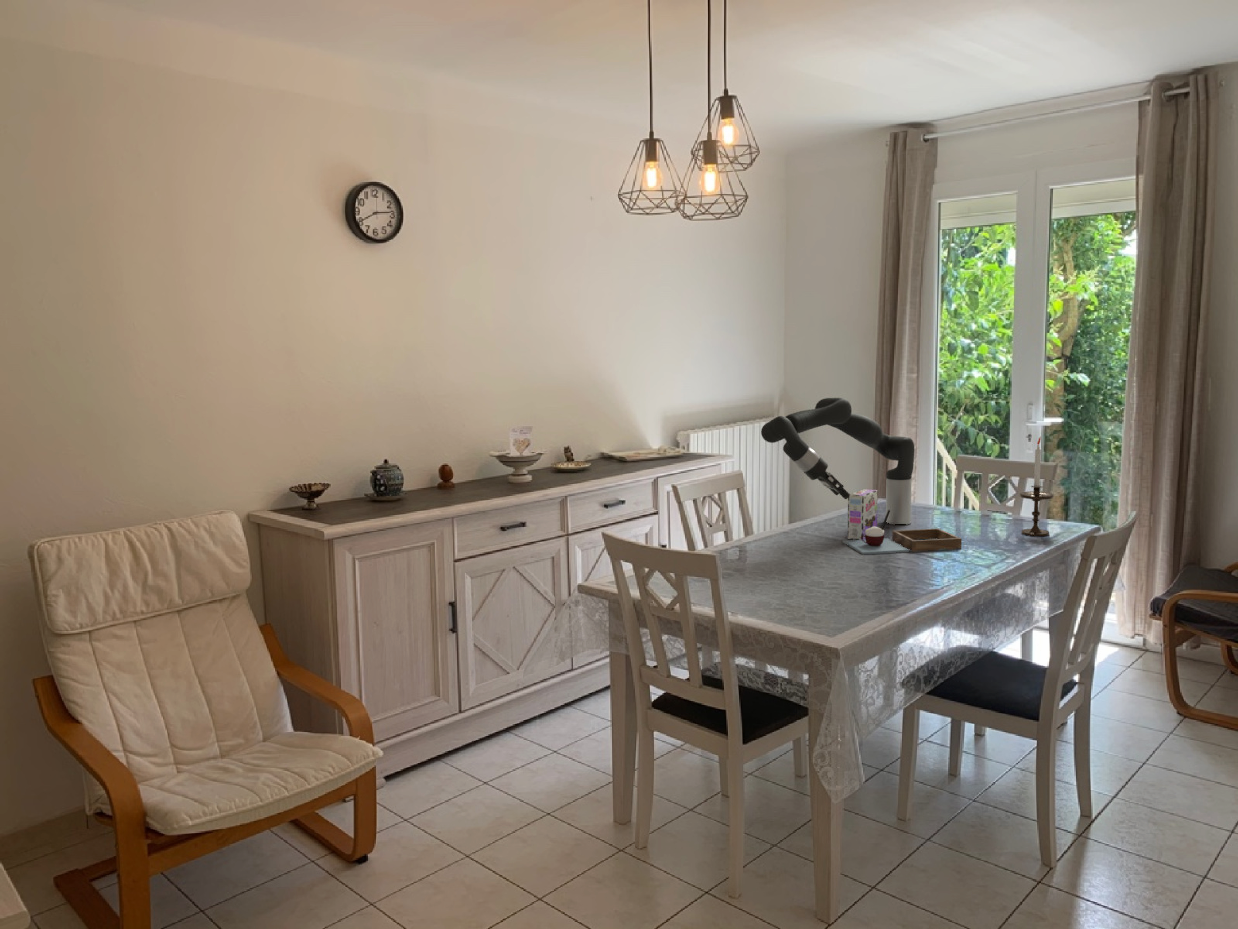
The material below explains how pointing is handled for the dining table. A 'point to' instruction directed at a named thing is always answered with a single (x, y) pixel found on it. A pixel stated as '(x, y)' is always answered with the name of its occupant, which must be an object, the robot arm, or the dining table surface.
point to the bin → (910, 540)
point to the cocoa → (875, 534)
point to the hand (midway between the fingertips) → (843, 495)
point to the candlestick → (1036, 497)
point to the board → (876, 547)
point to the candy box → (861, 513)
